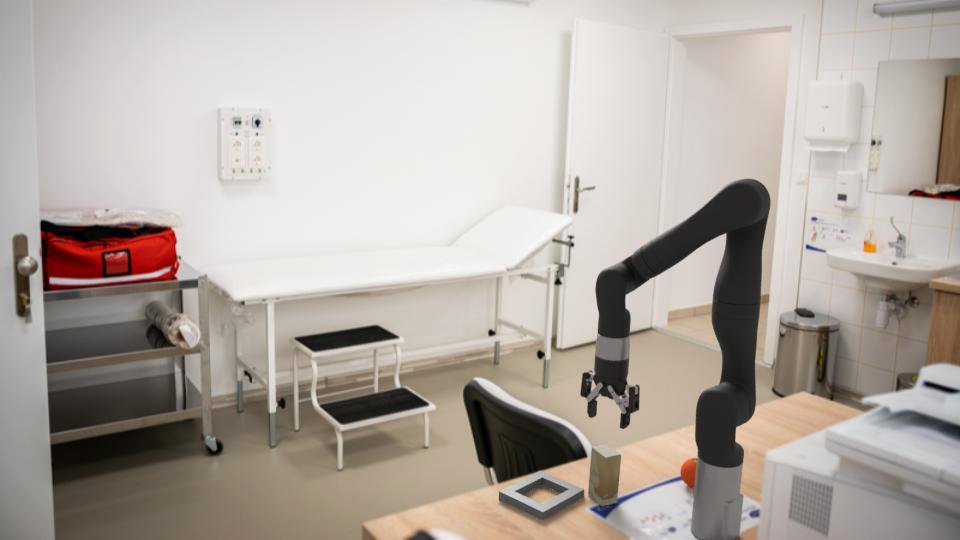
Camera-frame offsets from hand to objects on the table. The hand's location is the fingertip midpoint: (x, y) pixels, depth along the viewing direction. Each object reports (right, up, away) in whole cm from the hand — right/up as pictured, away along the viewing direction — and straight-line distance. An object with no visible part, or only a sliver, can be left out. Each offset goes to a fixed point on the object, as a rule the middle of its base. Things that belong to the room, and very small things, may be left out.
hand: (607, 422), depth 179 cm
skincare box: (-1, -19, +4) cm, 19 cm away
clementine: (+23, -18, +11) cm, 31 cm away
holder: (-15, -18, +4) cm, 24 cm away
